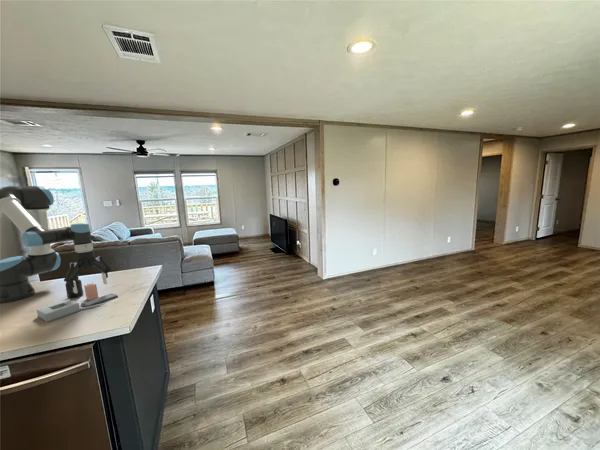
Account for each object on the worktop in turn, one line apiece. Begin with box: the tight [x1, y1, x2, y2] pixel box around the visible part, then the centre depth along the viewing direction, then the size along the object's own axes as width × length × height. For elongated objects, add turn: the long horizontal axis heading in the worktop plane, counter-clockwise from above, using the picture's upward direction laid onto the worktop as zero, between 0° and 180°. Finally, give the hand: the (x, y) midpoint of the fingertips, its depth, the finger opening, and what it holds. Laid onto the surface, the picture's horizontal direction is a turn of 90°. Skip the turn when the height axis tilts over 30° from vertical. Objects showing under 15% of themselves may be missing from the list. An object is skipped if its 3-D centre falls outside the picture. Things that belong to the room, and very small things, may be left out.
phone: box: [80, 293, 119, 308], centre depth 132 cm, size 7×14×1 cm, turn 151°
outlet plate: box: [36, 298, 81, 323], centre depth 119 cm, size 12×12×4 cm
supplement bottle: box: [64, 274, 84, 300], centre depth 140 cm, size 7×7×12 cm
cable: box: [80, 303, 102, 311], centre depth 125 cm, size 8×1×1 cm, turn 121°
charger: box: [83, 282, 99, 301], centre depth 136 cm, size 4×4×9 cm
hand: (91, 288), depth 136 cm, fingers open, 13 cm apart
